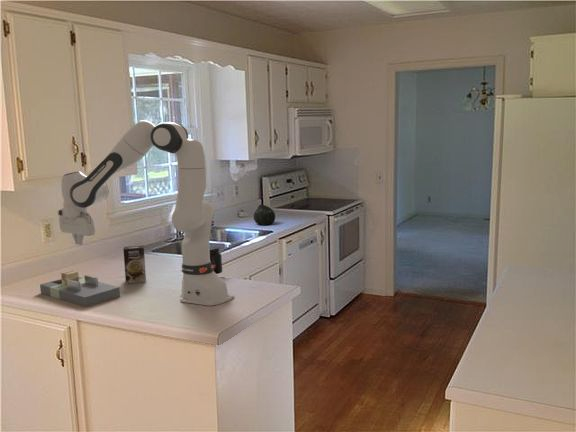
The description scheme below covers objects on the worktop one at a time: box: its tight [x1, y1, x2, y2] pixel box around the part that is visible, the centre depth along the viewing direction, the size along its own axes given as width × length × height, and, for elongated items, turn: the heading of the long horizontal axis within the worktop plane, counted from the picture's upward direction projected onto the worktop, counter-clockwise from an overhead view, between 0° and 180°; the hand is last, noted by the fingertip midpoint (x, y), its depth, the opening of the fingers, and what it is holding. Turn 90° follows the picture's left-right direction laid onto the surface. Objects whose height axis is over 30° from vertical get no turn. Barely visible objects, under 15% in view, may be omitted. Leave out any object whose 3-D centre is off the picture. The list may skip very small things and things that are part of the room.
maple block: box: [60, 269, 80, 285], centre depth 231 cm, size 5×5×5 cm
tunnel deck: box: [39, 274, 121, 308], centre depth 228 cm, size 34×16×8 cm, turn 53°
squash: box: [253, 204, 276, 226], centre depth 380 cm, size 14×15×15 cm
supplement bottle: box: [209, 246, 223, 275], centre depth 256 cm, size 7×7×12 cm
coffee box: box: [123, 244, 147, 285], centre depth 245 cm, size 9×6×16 cm
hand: (79, 244), depth 223 cm, fingers closed
